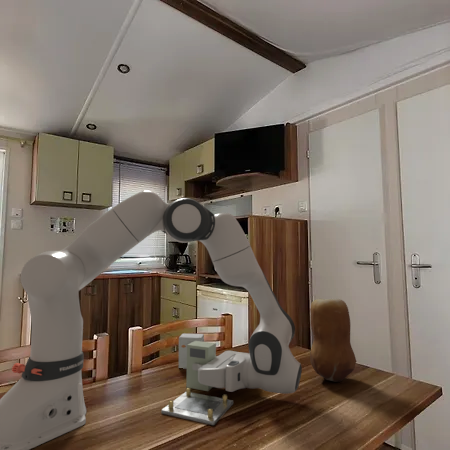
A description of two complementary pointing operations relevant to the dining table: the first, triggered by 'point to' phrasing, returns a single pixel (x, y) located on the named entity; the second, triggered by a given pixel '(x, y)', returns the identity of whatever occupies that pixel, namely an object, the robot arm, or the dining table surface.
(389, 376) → the dining table surface
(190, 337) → the small box
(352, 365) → the butternut squash
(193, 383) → the block
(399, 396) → the dining table surface
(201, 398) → the plate
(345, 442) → the dining table surface
